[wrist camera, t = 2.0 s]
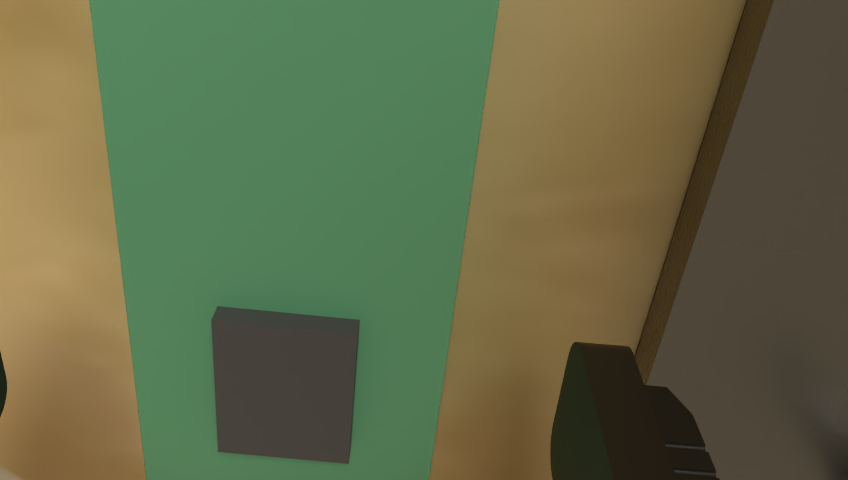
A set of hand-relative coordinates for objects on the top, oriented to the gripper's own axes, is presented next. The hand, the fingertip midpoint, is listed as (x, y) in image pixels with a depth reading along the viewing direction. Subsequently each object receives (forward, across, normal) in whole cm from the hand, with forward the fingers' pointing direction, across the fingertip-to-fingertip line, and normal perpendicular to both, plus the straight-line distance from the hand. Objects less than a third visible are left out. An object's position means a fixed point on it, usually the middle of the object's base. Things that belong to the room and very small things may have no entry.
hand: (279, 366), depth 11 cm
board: (+5, 0, -1) cm, 5 cm away
